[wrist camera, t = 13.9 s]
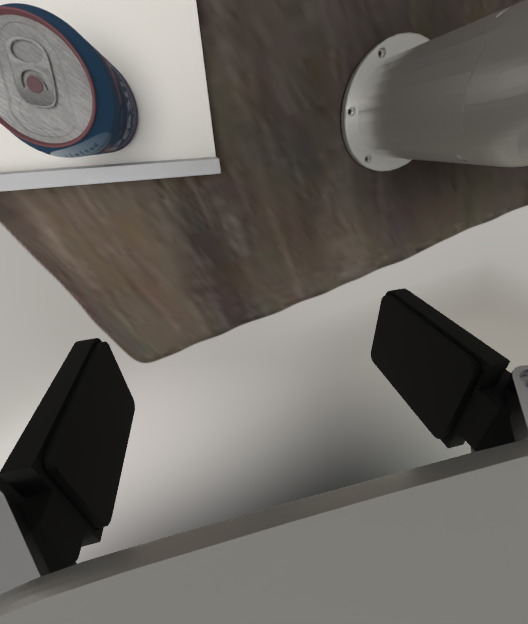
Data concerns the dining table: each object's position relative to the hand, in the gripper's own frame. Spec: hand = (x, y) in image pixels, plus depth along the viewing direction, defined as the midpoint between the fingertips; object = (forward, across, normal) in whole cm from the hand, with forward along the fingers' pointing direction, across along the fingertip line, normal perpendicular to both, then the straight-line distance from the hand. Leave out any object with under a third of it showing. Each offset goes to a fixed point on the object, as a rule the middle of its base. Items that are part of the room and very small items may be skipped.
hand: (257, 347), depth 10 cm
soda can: (+26, +9, -9) cm, 28 cm away
